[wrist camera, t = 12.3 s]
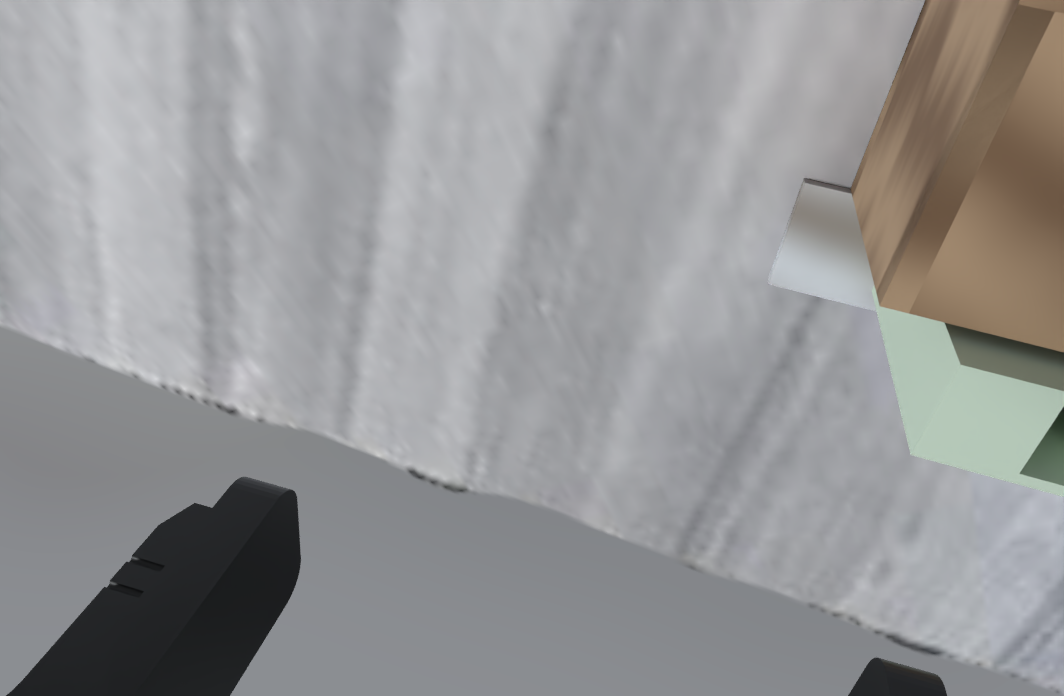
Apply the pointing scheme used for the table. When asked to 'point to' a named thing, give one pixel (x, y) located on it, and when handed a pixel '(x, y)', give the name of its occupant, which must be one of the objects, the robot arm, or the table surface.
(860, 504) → the table surface
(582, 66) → the table surface
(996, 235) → the small wooden cupboard
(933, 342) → the hollow square pipe
